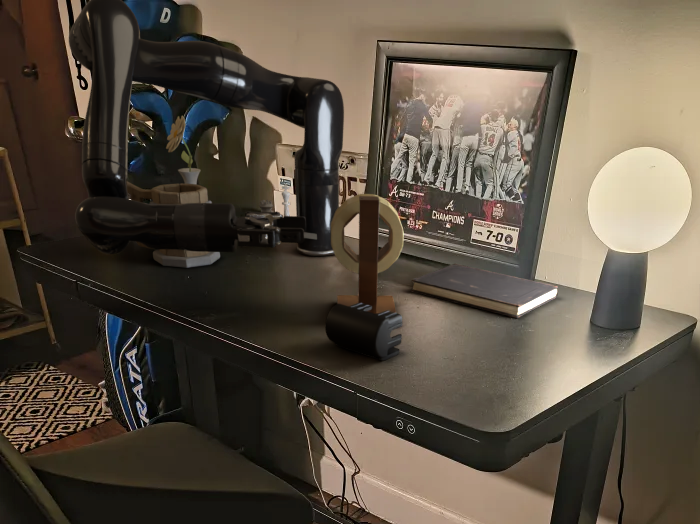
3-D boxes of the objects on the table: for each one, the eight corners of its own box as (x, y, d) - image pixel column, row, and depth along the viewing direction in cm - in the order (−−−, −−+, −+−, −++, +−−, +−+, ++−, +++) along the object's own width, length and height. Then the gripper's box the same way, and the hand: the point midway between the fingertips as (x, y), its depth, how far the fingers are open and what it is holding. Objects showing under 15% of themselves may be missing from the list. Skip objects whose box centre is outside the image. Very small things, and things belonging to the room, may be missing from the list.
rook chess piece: (280, 236, 176) (279, 200, 171) (272, 240, 172) (270, 203, 168) (263, 234, 177) (261, 198, 172) (254, 238, 173) (252, 202, 169)
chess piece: (293, 230, 181) (292, 186, 175) (274, 229, 181) (272, 185, 176) (299, 226, 185) (298, 183, 179) (280, 224, 185) (278, 181, 180)
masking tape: (331, 267, 130) (330, 193, 123) (399, 267, 130) (402, 194, 124) (331, 274, 126) (330, 198, 119) (402, 275, 126) (405, 200, 120)
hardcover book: (517, 318, 131) (518, 305, 130) (410, 291, 142) (411, 279, 141) (557, 297, 142) (559, 285, 141) (455, 274, 153) (456, 262, 152)
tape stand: (337, 299, 137) (336, 182, 126) (391, 300, 138) (395, 184, 127) (337, 325, 125) (337, 199, 114) (396, 326, 126) (401, 200, 115)
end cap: (324, 350, 116) (324, 307, 112) (354, 338, 121) (354, 297, 117) (374, 367, 111) (375, 323, 107) (403, 354, 116) (405, 311, 112)
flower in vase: (174, 227, 180) (160, 110, 166) (222, 227, 181) (212, 111, 167) (167, 241, 169) (151, 117, 155) (218, 241, 170) (207, 118, 156)
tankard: (226, 253, 161) (220, 179, 153) (204, 269, 151) (196, 190, 143) (139, 247, 164) (128, 173, 156) (112, 262, 153) (99, 183, 145)
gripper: (197, 212, 115) (302, 214, 116) (209, 194, 126) (305, 196, 128) (202, 262, 119) (304, 264, 120) (213, 240, 131) (306, 242, 132)
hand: (304, 229), depth 124 cm, fingers open, 8 cm apart
